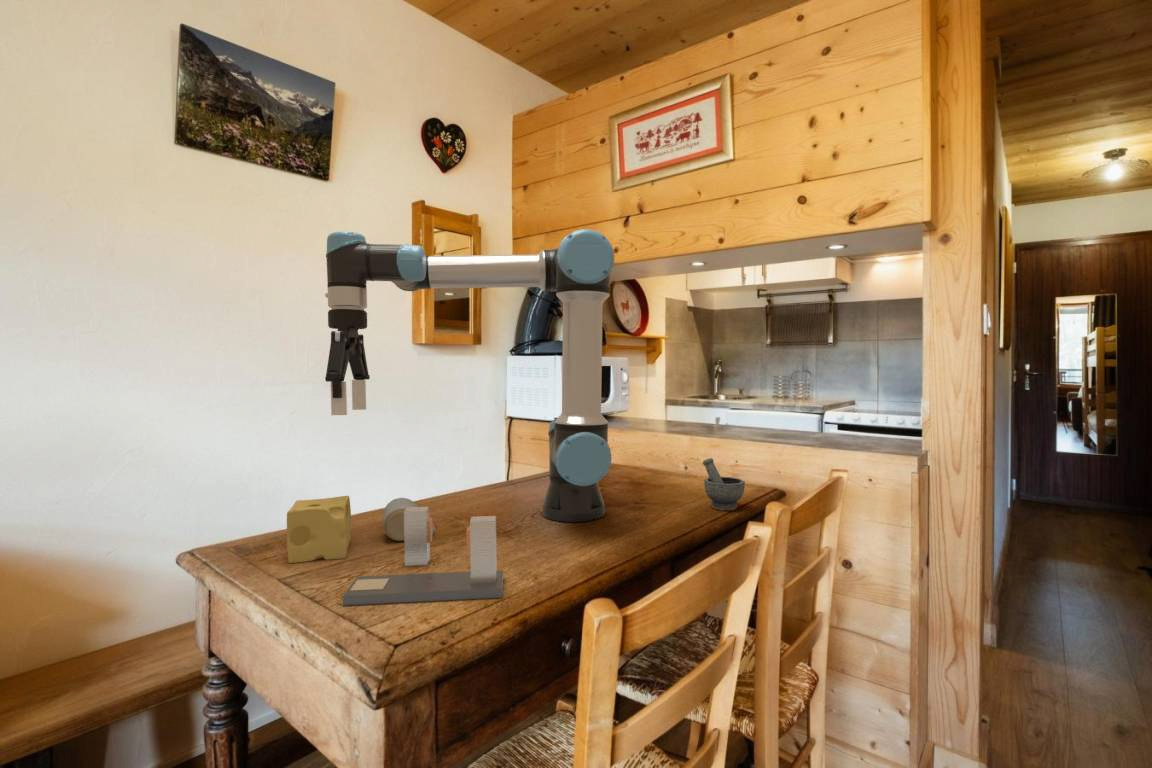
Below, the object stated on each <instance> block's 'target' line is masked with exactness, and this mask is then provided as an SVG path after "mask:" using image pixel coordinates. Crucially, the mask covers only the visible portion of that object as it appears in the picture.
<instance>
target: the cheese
mask: <svg viewBox="0 0 1152 768" xmlns="http://www.w3.org/2000/svg"><path fill="white" fill-rule="evenodd" d="M351 510H352V508H351V499H350V496H349V495H342V496H341V495H340V496H333V497H326V498H316V499H314V498H313V499H298V500H295V502H294V504H293V505H292V507H291V508H290V509H288V510H287V512H286V550H287V552H286V553H287V558H288V559H287V560H288V564H295V563H303V562H304V563H306V562H312V561H316V560H319V559H324V560H341V559H346V558H347V552H348V548H349V546H350V542H351V541H350V540H351V532H352V531H351V530H352V529H351V528H352V513H351Z"/></svg>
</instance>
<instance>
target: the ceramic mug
mask: <svg viewBox="0 0 1152 768" xmlns="http://www.w3.org/2000/svg"><path fill="white" fill-rule="evenodd" d="M407 507H418V505H417V504H416V502H414V501H413V500H412V499H409V498H406V497H397V498H394V499H392V500H391V501H390V502H388V503H387V504H386V505H385V507H384V508H383V513H382V525H383V526H382V527H383V530H384V533H385V534H386V536H387V537H388V538H390V539H391V540H392V541H395V542H404V511H405V509H406V508H407ZM435 529H436V527H435V526H434V525H433V524H432V536H433V535H434V533H435Z"/></svg>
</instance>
